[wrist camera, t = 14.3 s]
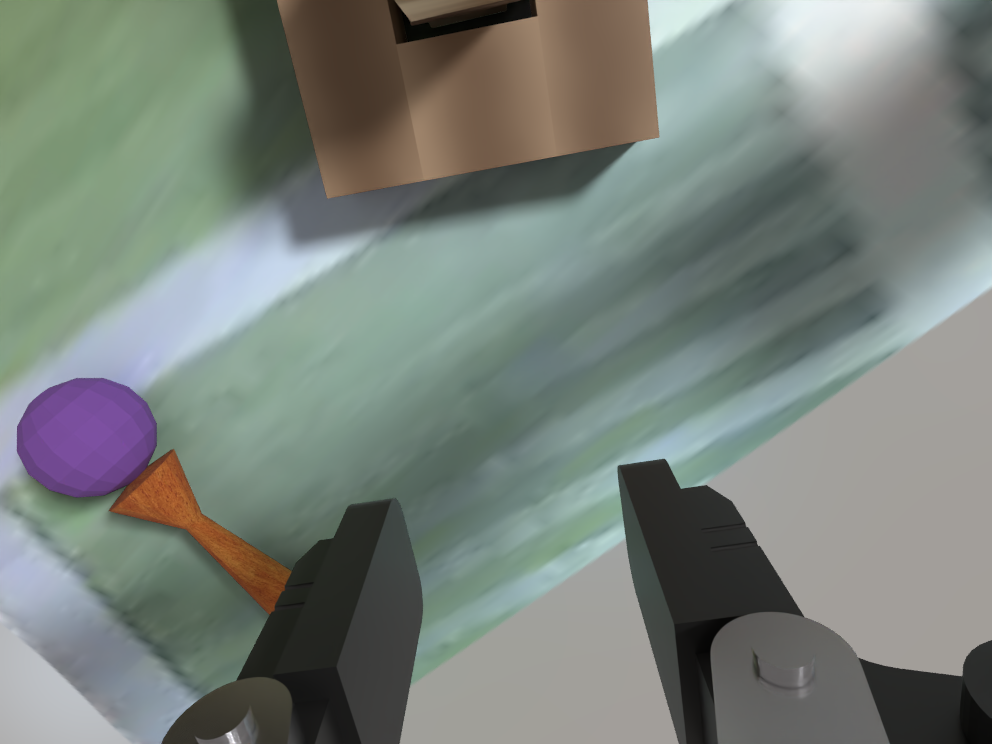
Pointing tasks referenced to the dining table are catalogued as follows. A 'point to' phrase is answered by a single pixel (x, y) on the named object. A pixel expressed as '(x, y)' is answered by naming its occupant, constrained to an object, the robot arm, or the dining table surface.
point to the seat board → (466, 88)
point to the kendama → (130, 471)
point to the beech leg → (449, 10)
